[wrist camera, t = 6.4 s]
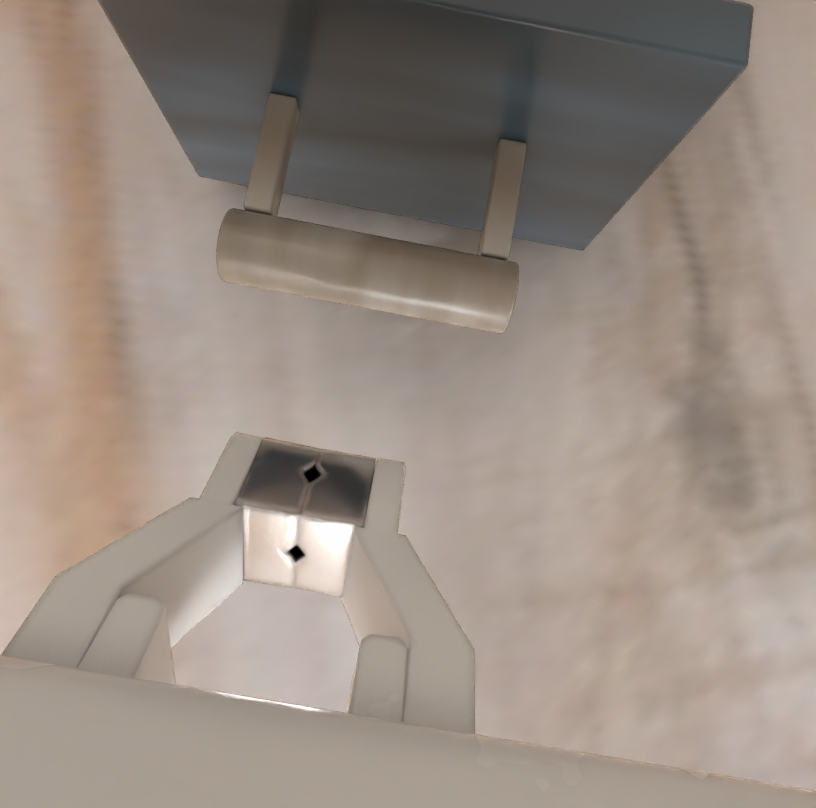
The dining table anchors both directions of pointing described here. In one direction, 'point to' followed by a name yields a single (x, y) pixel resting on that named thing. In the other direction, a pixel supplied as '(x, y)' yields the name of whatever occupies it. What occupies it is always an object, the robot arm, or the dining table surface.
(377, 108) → the drawer
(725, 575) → the dining table surface
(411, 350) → the dining table surface
